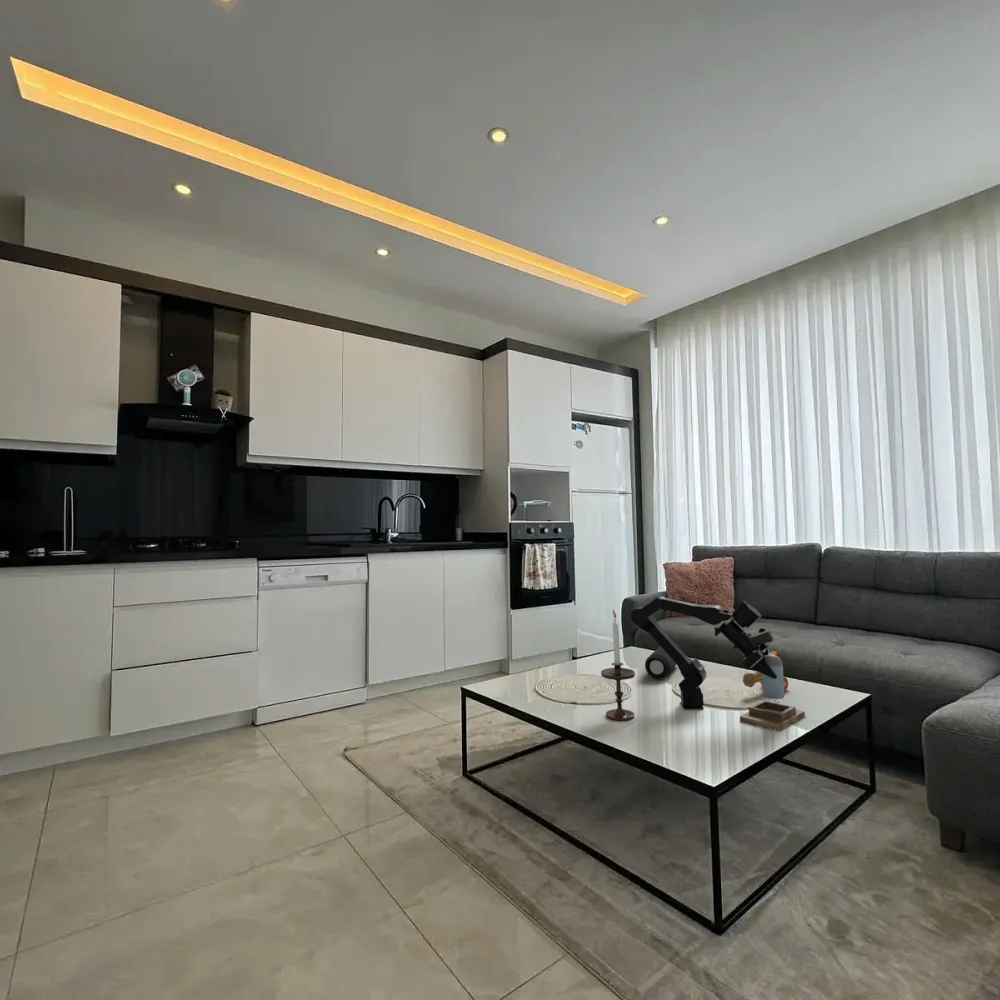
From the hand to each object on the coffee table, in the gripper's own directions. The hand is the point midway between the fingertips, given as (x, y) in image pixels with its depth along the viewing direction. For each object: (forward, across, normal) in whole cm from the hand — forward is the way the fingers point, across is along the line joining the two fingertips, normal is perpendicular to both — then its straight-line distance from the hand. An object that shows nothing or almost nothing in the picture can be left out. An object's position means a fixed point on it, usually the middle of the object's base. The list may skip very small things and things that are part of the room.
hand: (777, 675), depth 175 cm
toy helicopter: (+5, +28, +15) cm, 32 cm away
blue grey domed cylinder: (+4, 0, +6) cm, 7 cm away
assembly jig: (+8, -1, +11) cm, 14 cm away
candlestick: (-22, -19, +42) cm, 51 cm away
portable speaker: (-23, +39, +44) cm, 63 cm away
